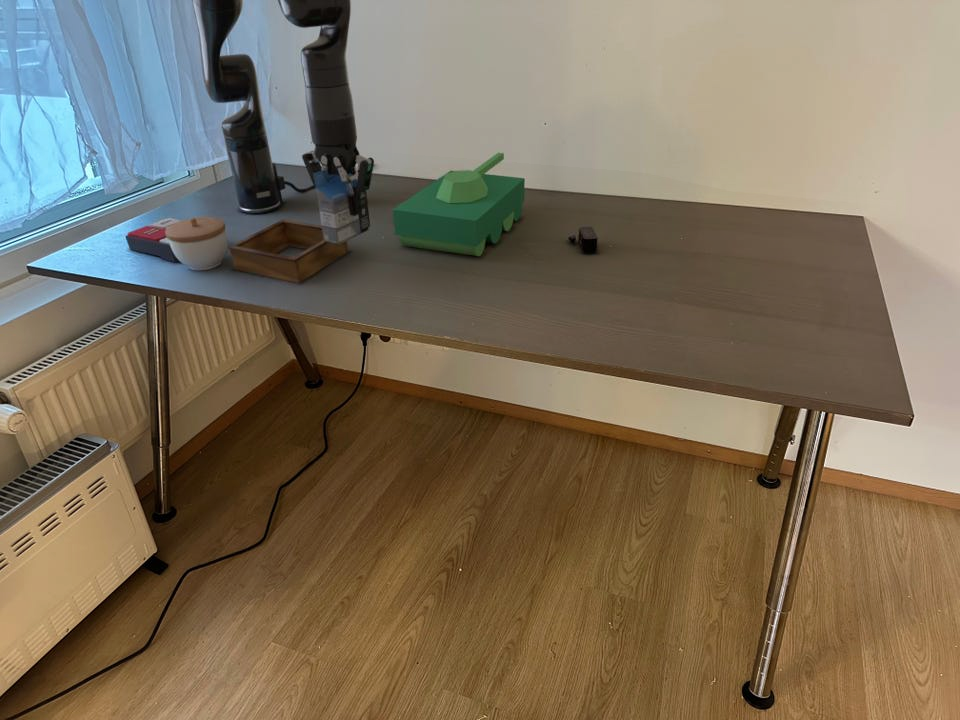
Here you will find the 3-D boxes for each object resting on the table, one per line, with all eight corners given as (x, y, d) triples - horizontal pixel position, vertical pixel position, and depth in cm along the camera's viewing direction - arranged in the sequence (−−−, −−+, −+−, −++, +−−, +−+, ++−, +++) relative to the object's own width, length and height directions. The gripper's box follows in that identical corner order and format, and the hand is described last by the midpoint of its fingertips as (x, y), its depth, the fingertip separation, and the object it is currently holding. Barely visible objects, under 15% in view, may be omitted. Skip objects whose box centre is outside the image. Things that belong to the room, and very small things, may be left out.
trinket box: (244, 256, 133) (234, 211, 128) (210, 278, 124) (198, 231, 119) (199, 250, 136) (187, 206, 131) (164, 272, 127) (149, 225, 122)
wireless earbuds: (590, 240, 135) (591, 225, 134) (597, 254, 129) (598, 238, 128) (567, 241, 135) (568, 226, 134) (573, 255, 129) (574, 239, 128)
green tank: (536, 151, 148) (475, 201, 121) (535, 204, 155) (477, 263, 127) (464, 145, 154) (390, 190, 127) (465, 196, 160) (396, 250, 133)
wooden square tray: (287, 240, 139) (283, 219, 137) (349, 251, 133) (346, 229, 131) (233, 269, 127) (228, 246, 125) (299, 283, 122) (294, 259, 119)
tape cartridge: (339, 246, 117) (329, 176, 110) (323, 242, 119) (312, 173, 112) (371, 229, 123) (363, 163, 117) (355, 226, 125) (347, 160, 119)
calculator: (168, 215, 143) (214, 223, 136) (174, 234, 145) (220, 243, 138) (122, 232, 135) (169, 242, 128) (129, 252, 138) (176, 262, 131)
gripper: (379, 111, 110) (389, 211, 119) (310, 105, 115) (325, 201, 124) (353, 121, 104) (366, 225, 113) (282, 114, 109) (300, 214, 119)
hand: (344, 212), depth 119 cm, fingers closed on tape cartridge, 4 cm apart
